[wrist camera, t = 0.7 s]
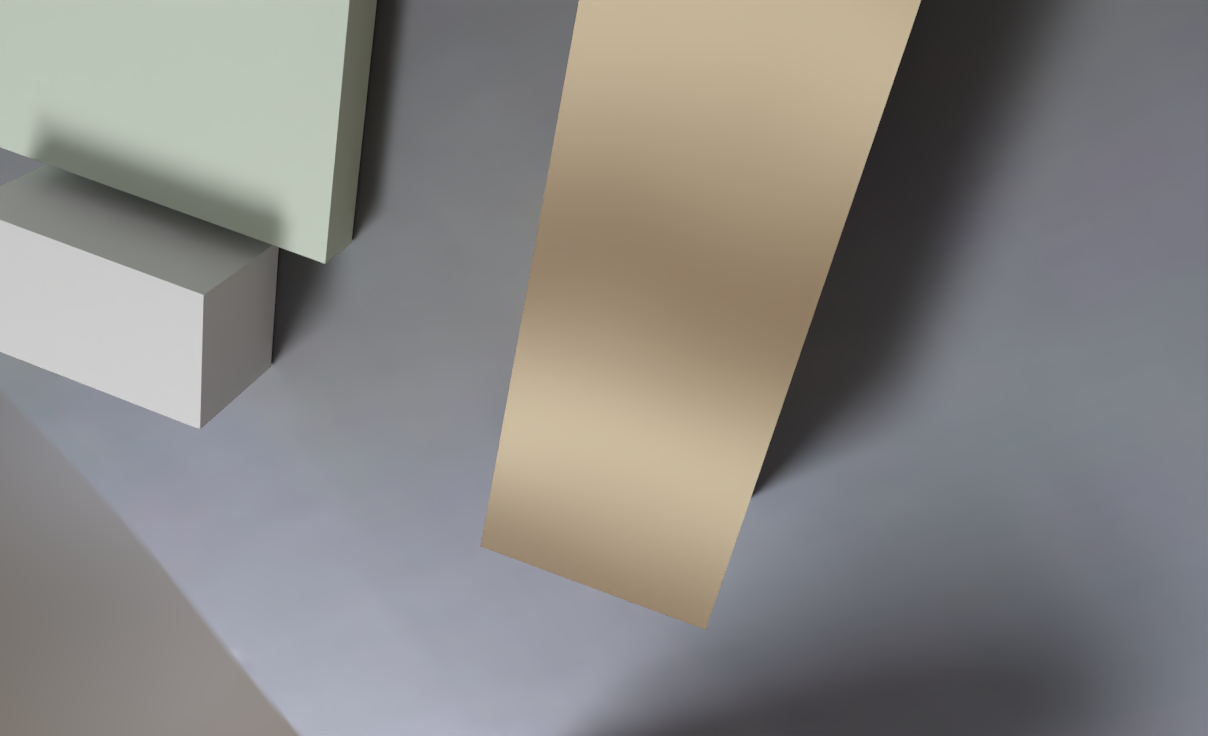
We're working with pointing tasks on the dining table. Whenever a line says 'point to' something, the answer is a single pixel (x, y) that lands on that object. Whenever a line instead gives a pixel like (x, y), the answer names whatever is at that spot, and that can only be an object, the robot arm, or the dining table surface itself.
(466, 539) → the dining table surface
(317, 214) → the bracket board
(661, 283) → the batten
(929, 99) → the dining table surface
